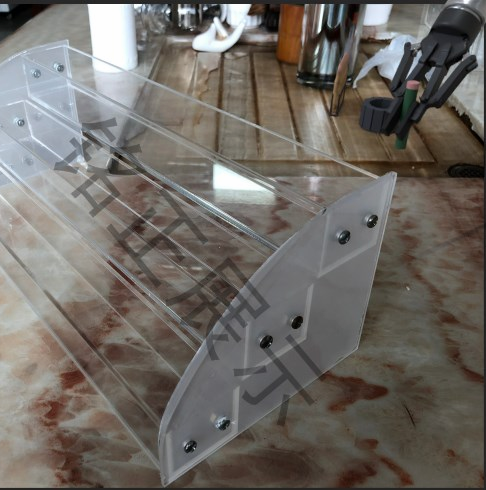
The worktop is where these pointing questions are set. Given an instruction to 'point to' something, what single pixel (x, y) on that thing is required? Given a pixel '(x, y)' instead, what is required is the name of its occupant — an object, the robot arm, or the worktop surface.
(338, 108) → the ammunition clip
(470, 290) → the worktop surface
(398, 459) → the worktop surface
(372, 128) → the grooved round container
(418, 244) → the worktop surface
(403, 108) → the pencil
